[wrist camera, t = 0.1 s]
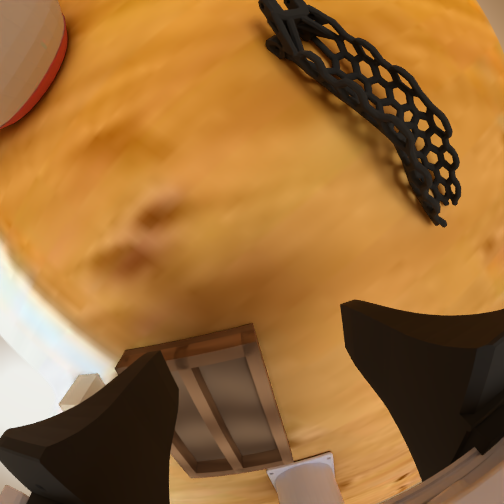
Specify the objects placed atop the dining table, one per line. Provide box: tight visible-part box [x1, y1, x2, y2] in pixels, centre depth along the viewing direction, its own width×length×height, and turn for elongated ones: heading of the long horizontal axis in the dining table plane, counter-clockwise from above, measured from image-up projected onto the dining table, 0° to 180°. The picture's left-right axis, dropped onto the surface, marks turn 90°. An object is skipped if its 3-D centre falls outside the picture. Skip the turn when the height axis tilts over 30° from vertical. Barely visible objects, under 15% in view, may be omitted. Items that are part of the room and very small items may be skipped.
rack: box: [115, 323, 294, 478], centre depth 21 cm, size 16×11×3 cm
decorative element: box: [258, 0, 461, 227], centre depth 15 cm, size 22×5×6 cm, turn 47°
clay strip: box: [59, 373, 105, 412], centre depth 20 cm, size 12×2×5 cm, turn 15°
